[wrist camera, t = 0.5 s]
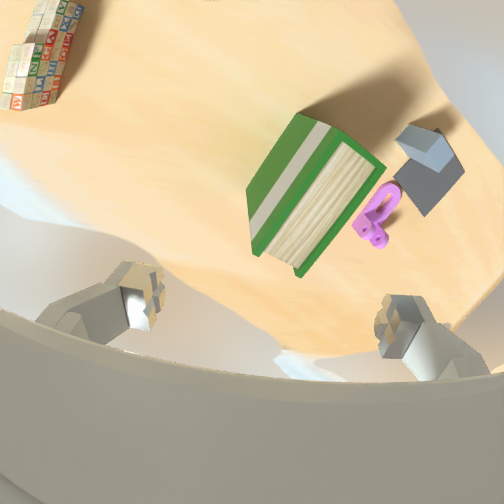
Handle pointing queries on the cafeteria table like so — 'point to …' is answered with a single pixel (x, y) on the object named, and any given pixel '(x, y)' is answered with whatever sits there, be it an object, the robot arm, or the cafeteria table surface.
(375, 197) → the bracket
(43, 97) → the stack of blocks
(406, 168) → the mat
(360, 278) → the cafeteria table surface
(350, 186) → the hardback book
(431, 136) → the slate block
